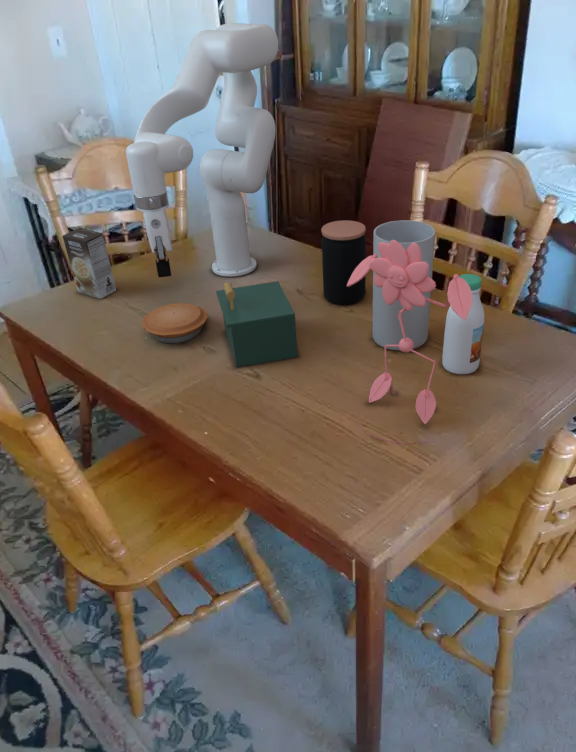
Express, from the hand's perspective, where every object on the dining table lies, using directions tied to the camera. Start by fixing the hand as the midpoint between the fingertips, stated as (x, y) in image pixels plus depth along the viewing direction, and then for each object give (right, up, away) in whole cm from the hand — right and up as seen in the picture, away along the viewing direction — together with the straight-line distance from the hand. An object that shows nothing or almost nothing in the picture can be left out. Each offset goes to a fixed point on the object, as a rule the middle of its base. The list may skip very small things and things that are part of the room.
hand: (164, 275), depth 162 cm
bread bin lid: (+23, -11, -17) cm, 31 cm away
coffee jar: (+45, -4, +5) cm, 45 cm away
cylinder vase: (+56, -17, -12) cm, 60 cm away
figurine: (+51, -36, -36) cm, 72 cm away
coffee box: (-22, -1, +16) cm, 27 cm away
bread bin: (+24, -18, -11) cm, 32 cm away
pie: (+4, -15, -4) cm, 16 cm away
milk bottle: (+68, -25, -23) cm, 75 cm away
